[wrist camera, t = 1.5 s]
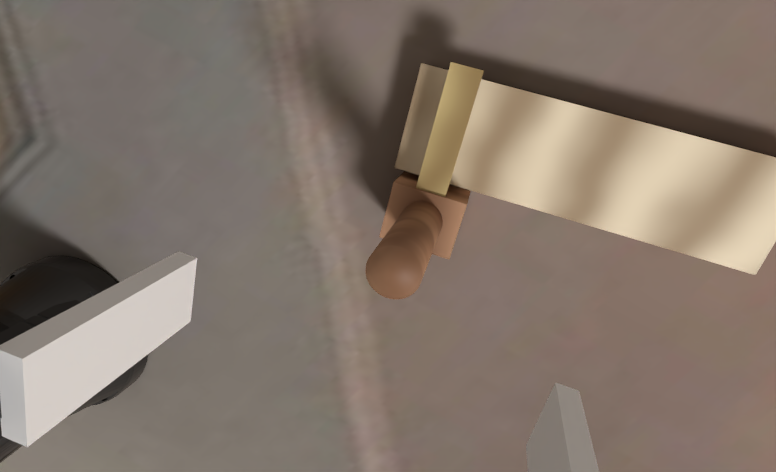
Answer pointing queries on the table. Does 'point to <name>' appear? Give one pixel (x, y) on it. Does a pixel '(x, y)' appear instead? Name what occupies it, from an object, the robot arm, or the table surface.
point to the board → (606, 171)
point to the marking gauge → (426, 197)
